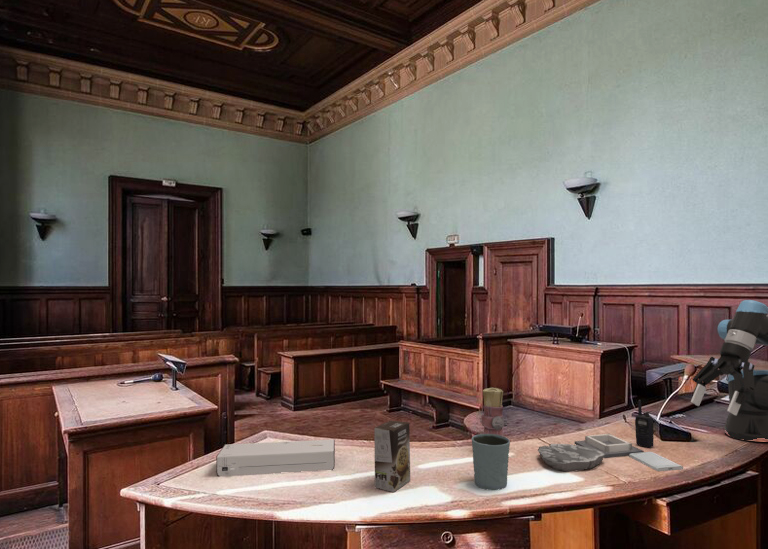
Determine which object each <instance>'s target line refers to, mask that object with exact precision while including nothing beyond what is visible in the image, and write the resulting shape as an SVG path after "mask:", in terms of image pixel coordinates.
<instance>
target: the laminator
mask: <svg viewBox="0 0 768 549" xmlns="http://www.w3.org/2000/svg"><path fill="white" fill-rule="evenodd" d="M335 442H336V441H335V439H319V440H317V439H315V440H313V439H312V440H296V441H295V440H293V441H292V440H291V441H276V442H275V441H273V442H270V441H269V442H254V443H234V444H233V443H231V444H230V443H229V444H224V445H223V446H222V448H221V450H220V451H219V452H218V454H217V455H216V457H215V458H216V462H215V463H216V466H215V467H216V471H215V472H216V475H217V477H234V476H236V477H237V476H254V475H255V476H256V475H271V474H273V473H275V474H282V473H281V472H294V473H302V472H301V471H312V472H319V471H318V470H331V471H334V470H333V469H335V464H336V463H335V462H336V461H335V459H336V457H335V454H336V453H335V452H336V446H335V445H336V444H335Z"/></svg>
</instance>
